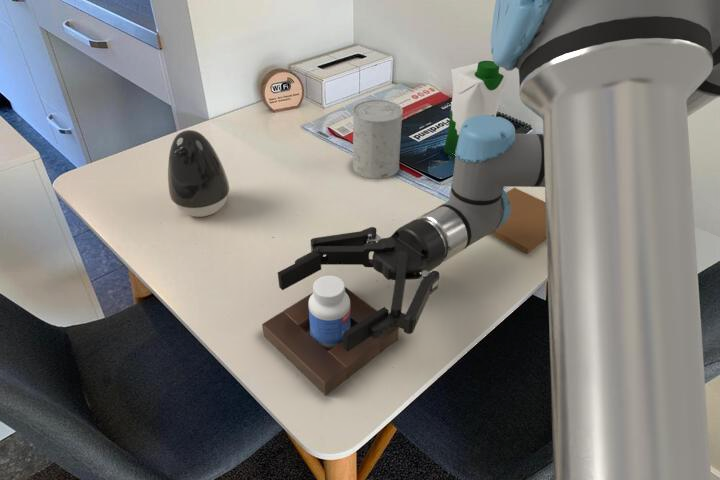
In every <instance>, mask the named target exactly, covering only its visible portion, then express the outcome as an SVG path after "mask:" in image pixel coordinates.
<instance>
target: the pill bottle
mask: <svg viewBox="0 0 720 480" xmlns="http://www.w3.org/2000/svg"><path fill="white" fill-rule="evenodd" d="M345 285H346V284H345V282H344V280H342V278H340V277H338V276H335V275H323V276H320V277H319V278H317V279H316V280H315V281H314V282H313V283H312V293H313V294H312V295H311V296H310V298H309V303H308V304H309V319H310V331H309V333H310V334H309V335H310V336H311V337H312V338H313V339H314V340H316V341H317V342H318V343H319V344H320V345H321V346H322V347H324V348H325V349H326V350H327V351H329V350H330V349H332V348H333V347H335V346H336V345H337V344H339V343H340V342H342V341H343V333H344V332H346V331H347V330H349V329H350V299H349V296H348V295H347V293H346V292H345V287H346V286H345Z"/></svg>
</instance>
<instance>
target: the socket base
mask: <svg viewBox="0 0 720 480" xmlns="http://www.w3.org/2000/svg"><path fill="white" fill-rule="evenodd" d="M345 292H346V293H347V295H348V296H349V299H350V328H352V327H353V326H355V325H356V324H358V323H360V322H361V321H363V320H364V319H366V318H367V317H369V316H371V315H372V314H374V313H375V312H377V311H378V310H377V309H375V308H374V307H373V306H372V305H370V304H368V303H367V302H366V301H364V300H363V299H362V298H360V296H358V295H357V294H355V293H354V292H352V290H350V289H349V288H347V287H346V286H345ZM312 294H313V292H312V293H310V294H308V295H306V296H305V297H303V298H302V299H300V300H298V301H297V302H295V303H293V304H291V305H290V306H289V307H287V308H285V309H284V310H282V311H281V312H279V313H278V314H276V315H275V316H272V317H271V318H270V319H268V320H266V321H264V322H263V323H262V324H261V327H262V328H261V329H262V333H263V337H264V338H265V339H266V340H267V341H268V342H269V343H270V344H271V345H272V346H273V347H274V348H275V349H276V350H278V352H279V353H281V355H283V356H284V357H285V358H286V359H287V361H288V362H289V363H291V364H292V365H293V366H294V367H295V368H296V369H297V370H298V371H299V372H300V373H301V374H302V375H303V376H304V377H305V378H307V380H309V382H311V383H312V384H313V385H314V386H315V387H316V388H317V389H318V390H319V391H320V392H321V393H322V394H323V395H324V396H327V395H329V394H330V393H331V392H332V391H333V390H335V389H336V388H337V387H339V386H340V385H341V384H343V383H344V382H345V381H346V380H348V379H349V378H350V377H352V376H353V375H355V373H357V372H359V371H360V370H361V369H362V368H364V367H365V366H366V365H367V364H369V363H370V362H372V360H374V359H375V358H377V357H378V356H380V354H382V353H383V352H385V351H386V350H387V349H388V348H390V347H391V346H392V345H394V344H395V343H396V342H398V340H399V333H400V328H399V327H397V328H392V329H391V330H389V331H388V332H386V333H385V334H383V335H382V336H380V337H379V338H376V339H374V338H373V337H369V338H368V339H366V340H365V341H363V342H362V343H360V344H359V345H357V346H356V347H354V348H353V349H351V350H350V351H348V352H347V351H346V350H345V349H344V348H343V341H342V342H340V343H339V344H337V345H336V346H335V347H333V348H332V349H330V350H329V351H327V350H326V349H325V348H324V347H322V346H321V345H320V344H319V343H318V342H317V341H316V340H314V339H313V338H312V337H311V335H310V334H309V333H308V332H310V319H309V304H308V303H309V298H310V296H311V295H312Z"/></svg>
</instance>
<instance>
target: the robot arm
mask: <svg viewBox="0 0 720 480" xmlns="http://www.w3.org/2000/svg"><path fill="white" fill-rule="evenodd" d="M490 54H491V55H492V61H493V62H494V63H495V64H496V65H497V66H499V68H503V69H504V70H506V71H508V72H509V71H513V70H515V69H517V70H518V77H519V78H518V82H519V89H518V90H519V99H520V101H521V103H522V104H523V105H524V106H525V107H527V109H529V110H530V111H532V112H533V113H534V114H536V115H537V116H538V117H540V118H541V120H542V127H543V128H542V129H543V131H542V132H543V133H516V128H515V126H514V124H513V123H512V122H511V121H509V120H508V119H506V118H504V117H502V116H496V117H494V116H492V115H478V116H474V117H471V118H469V119H468V120H466V121H465V122H464V123H463V124H462V126H461V129H460V133H459V137H458V143H457V147H456V149H455V155H456V156H455V159H454V166H453V172H452V173H453V175H452V182H451V186H450V193H449V199H448V201H446V202H445V203H442V204H440V205H439V206H437V207H435V208H434V209H432V210H430V211H428V212H426V213H424V214H422V215H420V216H418V217H417V218H416V219H413V220H411V221H410V222H408V223H406V224H404V225H402V226H400V227H399V228H397V229H396V230H395V231H394V232H393V233H392V235H391V236H388V237H381V236H379V235H378V233H377V228H376V227H374V226H370V227H368V228H365V229H363V230H358V231H353V232H346V233H340V234H332V235H326V236H319V237H313V238H311V239H310V252H308V253H306V254H304V255H303V256H300V257H298V258H297V259H296V260H295V261H294V263H293V264H291V265H289V266H288V267H286V268H283V269H281V270H279V271H278V272H277V279H278V287H279V288H280V290H281V291H284V290H286V289H288V288H290V287H291V286H294V285H295V284H297V283H299V282H302V281H303V280H305V279H306V278H308V277H310V276H312V275H314V274H316V273H317V272H319V271H321V270H322V265H323V266H324V265H325V266H328V265H331V266H335V265H338V266H339V265H340V266H342V265H343V266H345V265H346V266H351V265H352V266H355V265H357V266H363V267H365V268H373V270H375V271H376V272H378V273H380V274H382V276H383V277H384V278H385V279H387V281H395V282H394V288H393V294H392V300H391V306H390V311H389V309H388V308H386V307H385V306H383V307H381V308H380V309H379V310H376V311H377V312H375V313H374V314H372V315H371V316H369V317H367V318H366V319H364V320H363V321H361V322H360V323H358V324H356V325H355V326H353V327H352V328H350V329H349V330H347V331H346V332H344V333H343V348H344V349H345V350H346V351H347V352H348V351H350V350H351V349H353V348H354V347H356V346H357V345H359V344H360V343H362V342H363V341H365V340H366V339H368V338H369V337H373V338H374V339H376V338H379V337H380V336H382V335H383V334H385V333H386V332H388V331H389V330H391V329H392V328H397V327H399V329H401V330H403V332H404V334H407V335H411V334H413V333H414V332H415V329H416V326H417V324H418V322H419V320H420V318H421V315H422V313H423V311H424V309H425V307H426V305H427V303H428V300H429V297H430V296H431V295H432V294H433V293H434V292H436V291H437V290H438V289H439V284H440V283H439V282H440V272H439V271H438V270H434V269H436V268H437V267H439V266H441V265H442V264H443V263H444V262H446V261H448V260H449V259H451V258H453V257H455V256H456V255H457V254H459V253H461V252H462V251H465V249H467V248H468V247H469V246H471V245H474V244H475V243H476V242H478V241H481V240H482V239H483V238H485V237H487V236H490V235H492V233H493V232H494V231H496V229H498V228H499V227H500V226H501V225H503V224H504V223H505V222H506V221H507V220H508V218H509V216H510V213H511V206H510V203H509V197H508V195H507V194H506V193H507V191H505V190H504V189H505V187H513V188H517V187H519V188H521V187H522V188H524V187H525V188H544V194H545V195H544V197H545V201H544V202H546V234H547V238H546V258H547V259H546V261H547V263H546V264H547V265H546V267H547V291H548V292H547V295H548V296H547V297H548V299H547V300H548V327H549V329H548V330H549V333H548V334H549V362H550V363H549V364H550V365H549V368H550V395H551V396H550V398H551V429H552V463H553V465H552V466H553V473H552V475H551V477H550V478H549V480H712V470H711V455H710V440H709V425H708V409H707V394H706V378H705V364H704V363H705V362H704V349H703V338H702V337H703V334H702V320H701V319H702V318H701V317H702V316H701V304H700V288H699V275H698V272H699V271H698V258H697V244H696V242H697V241H696V227H695V214H694V213H695V211H694V197H693V183H692V181H693V179H692V168H691V167H692V166H691V151H690V150H691V149H690V139H689V138H690V135H689V120H688V117H690V116H691V115H693V114H695V113H696V112H697V111H699V110H701V109H702V108H704V107H705V106H707V105H708V104H710V103H712V102H713V101H714V100H716V99H717V98H720V0H495V3H494V9H493V17H492V25H491V32H490ZM370 253H373V254H372V258H370ZM419 279H420V282H419V285H418V288H417V289H416V292H415V294H414V296H413V298H412V300H411V302H410V304H409V306H408V309H407V310H406V313H405V312H402V310H403V309H402V308H403V302H404V294H405V287H406V281H411V280H419Z"/></svg>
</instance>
